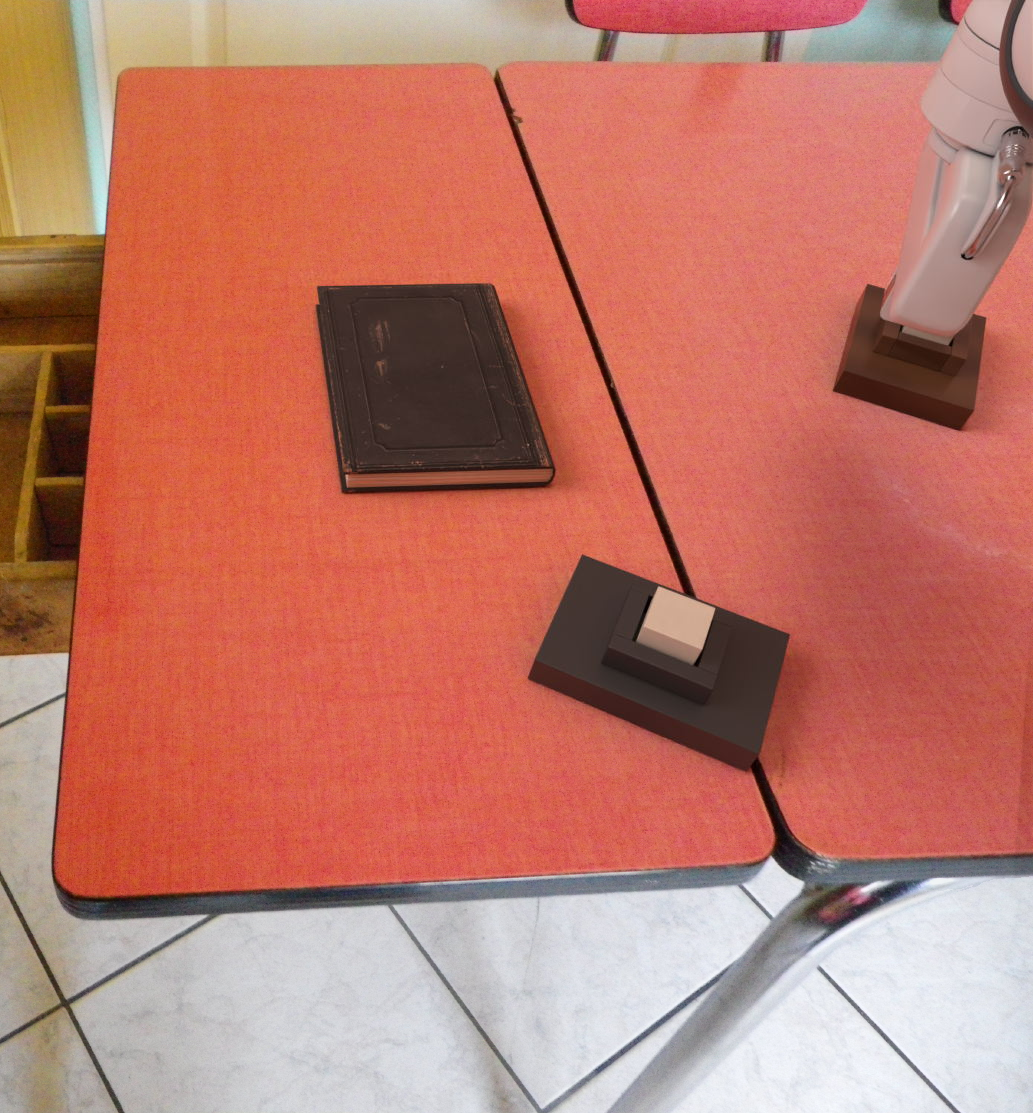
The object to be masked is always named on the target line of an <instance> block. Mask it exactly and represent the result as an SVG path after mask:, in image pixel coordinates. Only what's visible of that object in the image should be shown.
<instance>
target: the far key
mask: <svg viewBox="0 0 1033 1113" xmlns="http://www.w3.org/2000/svg"><path fill="white" fill-rule="evenodd" d="M902 332H903V333H906V334H910V335H913V336H916V337H920V338H923V339H927V340H930V341H933V342H937V343H940V344H944V345H947V346H948V345H949V344H950V342H951V340H952V339H953V337H954V336H955V335H953V336H950V337H943V336H939V335H934V334H931V333H927V332H923V331H919V330H916V329H913V328H910V327H907V326H904V325H903V327H902Z"/></svg>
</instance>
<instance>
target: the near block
mask: <svg viewBox="0 0 1033 1113" xmlns="http://www.w3.org/2000/svg"><path fill="white" fill-rule="evenodd" d="M658 587H662V588H665V589H667V590H670V591H672V592H675V593H678V594H680V595H683V596H685V597H688V598H690V599H693V600H696V601H698V602H701V603H703V604H706V605H709V606H711V607H714V608H715V612H714V615H713V618H712V621H711V624H710V627H709V630H708V634H707V637H706V640H705V643H704V646H703V649H702V651H701V653H700V654H699V656H698V658H697V660H696V661H695V663H694V665H691V664H688V663H686V662H683V661H681V660H678V659H676V658H673V657H671V656H668V655H666V654H664V653H661V652H659V651H656V650H654V649H651V648H649V647H646V646H644V645H641V644H639V643H636V640H637V637H638V635H639V632H640V629H641V627H642V624H643V621H644V619H645V616H646V614H647V611H648V608H649V606H650V603H651V601H652V599H653V597H654V595H655V593H656V591H657V589H658ZM790 637H791V634H790V633H788V632H785V631H783V630H781V629H778V628H776V627H773V626H770V625H767V624H764V623H762V622H759V621H757V620H754V619H752V618H749V617H746V616H744V615H741V614H739V613H736V612H733V611H731V610H729V609H725V608H723V607H722V606H721V607H720V606H718V605H715V604H713V603H710V602H707V601H705V600H703V599H700V598H697V597H696V596H695V597H694V596H692V595H689V594H687V593H684V592H682V591H678V590H677V589H673V588H671V587H669V586H666V585H663V584H661V583H658V582H656V581H652V580H650V579H648V578H646V577H643V576H640V575H638V574H635V573H632V572H630V571H627V570H624V569H622V568H619V567H616V566H614V565H612V564H609V563H606V562H603V561H601V560H598V559H595V558H593V557H590V556H588V555H585V554H581V556H580V558H579V560H578V562H577V565H576V566H575V569H574V571H573V573H572V575H571V577H570V579H569V582H568V584H567V587H566V589H565V591H564V593H563V596H562V598H561V599H560V602H559V604H558V606H557V609H556V611H555V612H554V616H553V618H552V620H551V622H550V624H549V626H548V629H547V631H546V633H545V636H544V638H543V640H542V641H541V644H540V647H539V649H538V651H537V653H536V655H535V658H534V660H533V662H532V665H531V667H530V668H531V669H530V670H529V674H528V676H527V679H528V680H530V681H532V682H535V683H537V684H539V685H543V686H544V687H547V688H549V689H551V690H553V691H556V692H558V693H561V694H563V695H565V696H568V697H570V698H573V699H575V700H577V701H579V702H582V703H584V704H587V705H588V706H591V707H594V708H596V709H598V710H600V711H603V712H605V713H607V714H610V715H612V716H615V717H617V718H619V719H621V720H624V721H626V722H628V723H631V724H633V725H636V726H638V727H640V728H642V729H646V730H648V731H650V732H652V733H654V734H656V735H659V736H662V737H664V738H666V739H668V740H670V741H673V742H675V743H677V744H679V745H682V746H685V747H687V748H690V749H692V750H694V751H696V752H699V753H701V754H703V755H706V756H708V757H711V758H713V759H715V760H717V761H719V762H722V763H725V764H727V765H729V766H731V767H733V768H736V769H738V770H740V771H743V772H748V770H749V769H750V768H751V766H752V765H753V764H754V763H755V761H756V759H757V758H758V757H759V756H760V754H761V751H762V747H763V742H764V739H765V735H766V731H767V727H768V723H769V719H770V717H771V716H770V715H771V711H772V707H773V704H774V699H775V695H776V692H777V688H778V684H779V681H780V677H781V673H782V668H783V664H784V659H785V657H786V653H787V649H788V644H789V641H790Z"/></svg>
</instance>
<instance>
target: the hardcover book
mask: <svg viewBox="0 0 1033 1113" xmlns="http://www.w3.org/2000/svg"><path fill="white" fill-rule="evenodd" d="M316 290H317V300H318V303H317V304H315V309H316V317H317V324H318V332H319V338H320V346H321V353H322V360H323V361H322V362H323V366H324V373H325V381H326V388H327V396H328V403H329V410H330V417H331V424H332V431H333V438H334V447H335V453H336V459H337V467H338V475H339V482H340V488H341V493H342V494H344V493H345V494H346V493H378V492H411V491H414V492H415V491H442V490H443V491H444V490H476V489H477V490H478V489H481V490H482V489H509V488H510V489H511V488H543V487H546V486H548V485H550V484H551V483H552V482H553V481H554V478H555V476H556V471H557V469H556V466H555V462H554V459H553V456H552V454H551V450H550V448H549V444H548V441H547V439H546V436H545V432H544V430H543V427H542V424H541V420H540V418H539V414H538V412H537V409H536V405H535V403H534V400H533V397H532V394H531V391H530V387H529V384H528V382H527V378H526V376H525V372H524V370H523V367H522V363H521V361H520V358H519V355H518V352H517V349H516V346H515V342H514V340H513V336H512V334H511V331H510V328H509V325H508V322H507V319H506V316H505V313H504V310H503V308H502V305H501V301H500V299H499V295H498V292H497V289H496V287H495V285H494V284H493V283H490V282H478V283H477V282H476V283H475V282H473V283H471V282H470V283H419V284H418V283H416V284H415V283H414V284H412V283H411V284H360V285H359V284H357V285H356V284H355V285H354V284H353V285H317V286H316Z"/></svg>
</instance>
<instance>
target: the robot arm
mask: <svg viewBox="0 0 1033 1113" xmlns="http://www.w3.org/2000/svg"><path fill="white" fill-rule="evenodd" d="M919 108H920V112H921V113H922V115H923V117H924V119H925V120H926V121H927V122H928V123H929V125H930V128H929V130H928V133H927V135H926V138H925V140H924V143H923V146H922V148H921V152H920V155H919V157H918V162H917V165H916V172H915V177H914V182H913V188H912V191H911V192H912V193H911V198H910V203H909V208H908V213H907V218H906V223H905V228H904V234H903V239H902V243H901V250H900V254H899V259H898V262H897V265H896V268H895V270H894V271H893V274H892V275H891V277H890V279H889V281H888V282H887V284H886V286H885V292H884V297H883V303H882V307H881V311H880V316H881V317H882V319H884V320H887V321H890V322H894V323H897V324H901V325H904V326H907V327H910V328H913V329H916V330H919V331H923V332H927V333H931V334H934V335H939V336H943V337H950V336H953V335H955V334H956V333H958V332H959V331H960V330H961V329H962V328H963V327H964V326H965V325H966V324H967V323H968V321H969V320H970V318H971V317H972V315H973V314H975V312H976V311H977V309H978V307H979V306H980V304H981V302H982V301H983V300H984V298H985V296H986V294H987V293H988V291H989V290H990V288H991V286H992V285H993V283H994V281H995V280H996V278H997V277H998V275H999V273H1000V272H1001V270H1002V268H1003V266H1004V265H1005V263H1006V261H1007V260H1008V258H1009V256H1010V254H1011V253H1012V251H1013V250H1014V247H1015V246H1016V244H1017V242H1018V240H1019V238H1020V236H1021V234H1022V233H1023V230H1024V228H1025V227H1026V224H1027V222H1028V219H1029V217H1030V214H1031V210H1032V207H1033V0H971V1H970V3H969V5H968V7H967V8H966V10H965V12H964V13H963V16H962V18H961V19H960V22H959V24H957V27H956V29H955V31H954V33H953V35H952V37H951V39H950V41H949V43H948V44H947V47H946V49H945V51H944V53H943V55H942V57H941V59H940V60H939V62H938V64H937V66H936V68H935V70H934V71H933V74H932V75H931V77H930V79H929V82H928V84H927V85H926V88H925V89H924V91H923V93H922V95H921V97H920V101H919Z"/></svg>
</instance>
